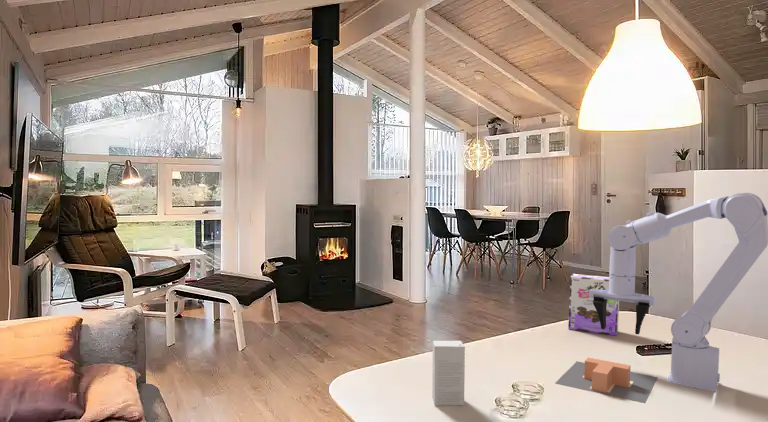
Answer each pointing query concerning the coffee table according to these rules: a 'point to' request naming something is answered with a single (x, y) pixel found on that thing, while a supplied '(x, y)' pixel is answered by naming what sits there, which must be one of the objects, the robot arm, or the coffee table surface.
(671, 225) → the robot arm
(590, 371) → the rust T block
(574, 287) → the candy box
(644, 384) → the charcoal mat
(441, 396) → the skincare box
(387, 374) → the coffee table surface
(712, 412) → the coffee table surface
